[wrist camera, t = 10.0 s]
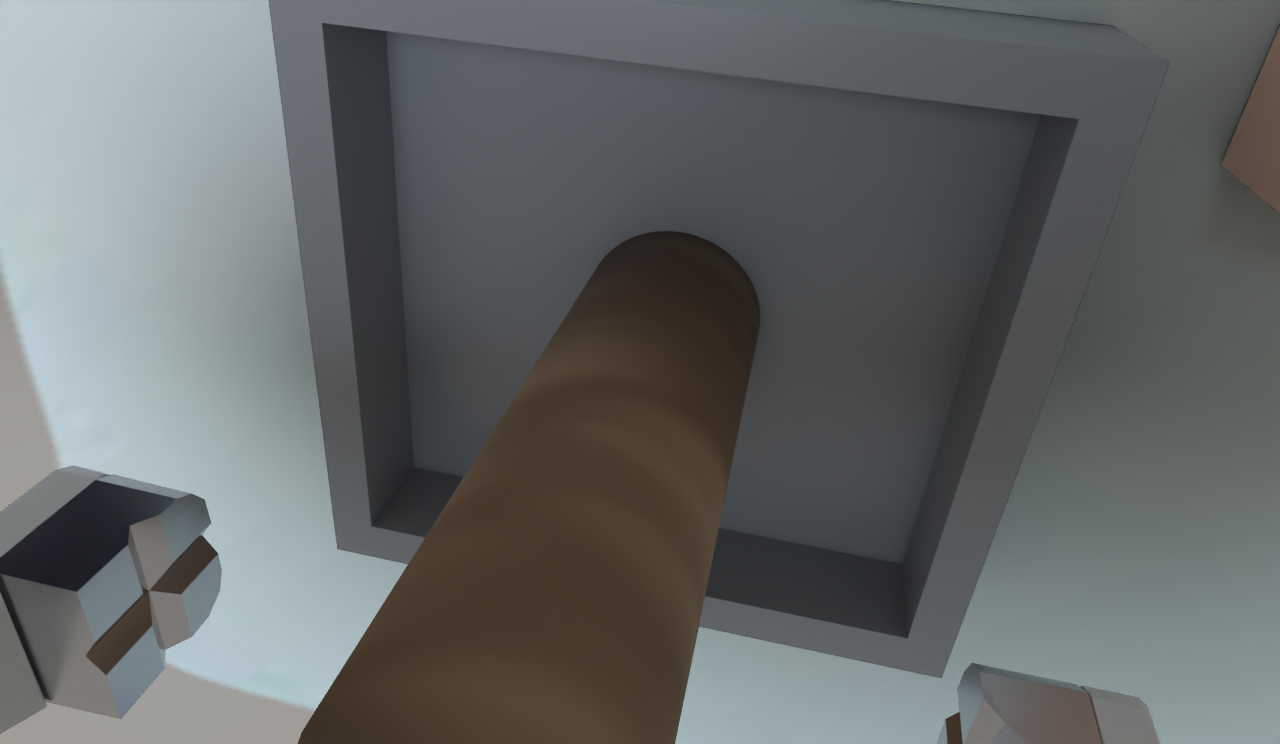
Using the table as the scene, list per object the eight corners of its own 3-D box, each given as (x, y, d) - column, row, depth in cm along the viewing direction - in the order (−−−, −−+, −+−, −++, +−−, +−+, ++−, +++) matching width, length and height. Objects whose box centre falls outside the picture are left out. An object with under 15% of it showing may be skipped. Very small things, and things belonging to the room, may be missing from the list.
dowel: (773, 246, 15) (668, 738, 7) (746, 404, 17) (635, 962, 8) (590, 217, 16) (273, 647, 7) (581, 375, 17) (315, 875, 9)
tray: (1113, 25, 13) (1169, 62, 11) (930, 575, 19) (941, 677, 16) (357, -60, 15) (262, -44, 12) (397, 469, 20) (337, 548, 18)
